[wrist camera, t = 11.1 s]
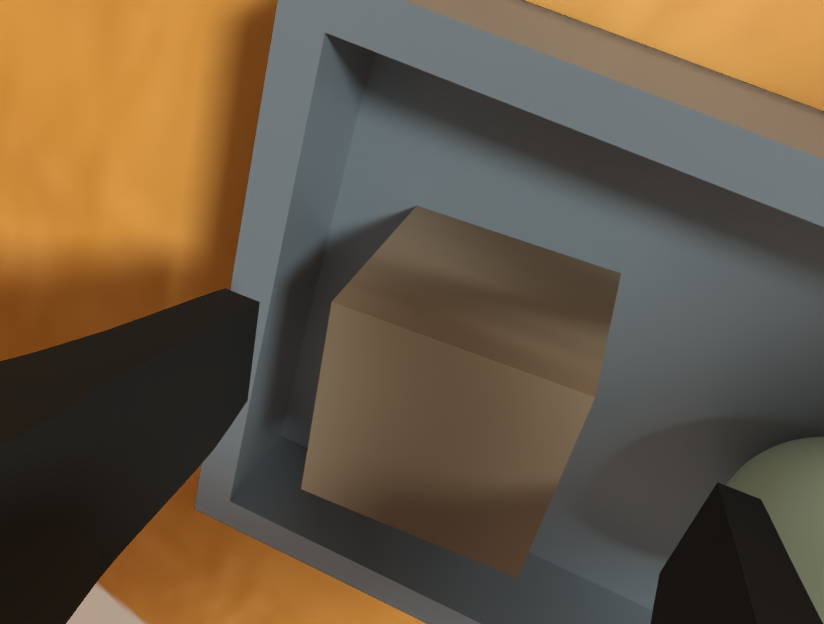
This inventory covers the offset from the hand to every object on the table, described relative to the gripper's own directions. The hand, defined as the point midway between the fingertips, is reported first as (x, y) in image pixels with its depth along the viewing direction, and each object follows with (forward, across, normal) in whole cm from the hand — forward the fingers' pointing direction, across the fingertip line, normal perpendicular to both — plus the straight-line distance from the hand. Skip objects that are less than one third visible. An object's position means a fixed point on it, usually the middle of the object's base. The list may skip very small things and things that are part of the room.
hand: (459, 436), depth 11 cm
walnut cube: (+4, 0, +1) cm, 4 cm away
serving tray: (+5, -3, +1) cm, 6 cm away
